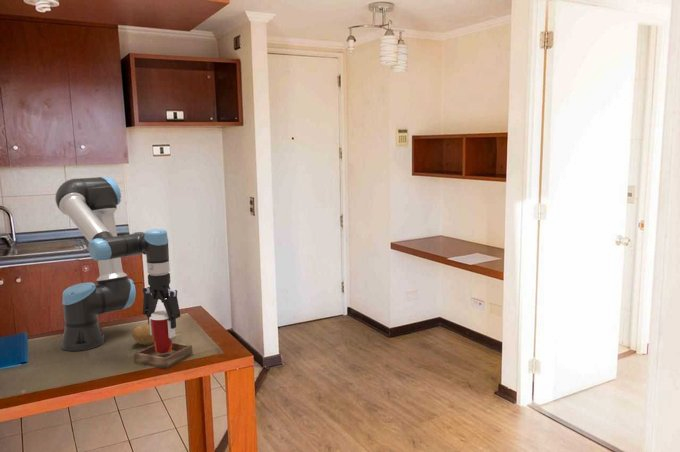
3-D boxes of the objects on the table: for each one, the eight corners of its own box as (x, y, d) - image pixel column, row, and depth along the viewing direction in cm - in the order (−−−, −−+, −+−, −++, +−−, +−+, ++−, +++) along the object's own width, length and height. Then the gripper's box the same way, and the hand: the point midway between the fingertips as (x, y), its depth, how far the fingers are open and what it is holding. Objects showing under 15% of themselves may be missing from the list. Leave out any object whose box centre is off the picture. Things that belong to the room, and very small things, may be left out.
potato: (174, 341, 214) (172, 321, 213) (140, 351, 204) (138, 330, 203) (161, 335, 221) (159, 316, 220) (128, 345, 211) (126, 325, 209)
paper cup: (179, 349, 197) (177, 312, 195) (161, 356, 191) (158, 317, 189) (165, 345, 201) (163, 308, 199) (147, 351, 195) (145, 314, 193)
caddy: (135, 362, 193) (134, 353, 192) (162, 349, 206) (162, 340, 205) (165, 368, 187) (165, 359, 187) (192, 354, 200) (192, 345, 199)
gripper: (128, 273, 193) (133, 335, 196) (174, 278, 184) (178, 342, 188) (144, 268, 199) (148, 328, 203) (189, 273, 191) (192, 335, 194)
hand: (162, 335), depth 195 cm, fingers closed on paper cup, 8 cm apart
